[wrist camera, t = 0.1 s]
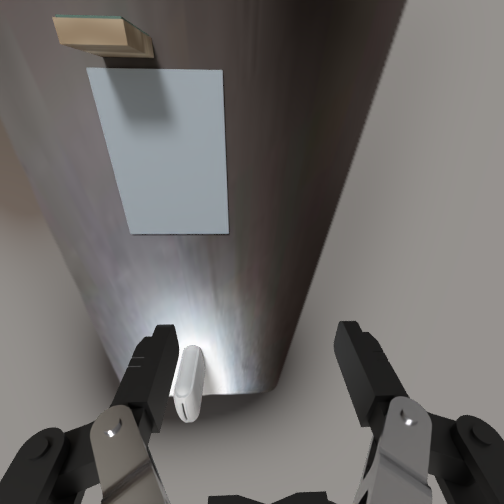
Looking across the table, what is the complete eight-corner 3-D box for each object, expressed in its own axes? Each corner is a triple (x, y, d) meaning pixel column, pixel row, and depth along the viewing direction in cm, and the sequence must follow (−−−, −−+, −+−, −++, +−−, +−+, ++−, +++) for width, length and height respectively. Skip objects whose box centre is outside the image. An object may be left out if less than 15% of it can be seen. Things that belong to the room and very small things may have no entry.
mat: (87, 68, 30) (86, 67, 30) (222, 70, 31) (222, 70, 30) (131, 232, 41) (130, 234, 41) (228, 232, 42) (228, 233, 42)
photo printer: (207, 371, 61) (199, 428, 51) (189, 372, 61) (178, 429, 51) (201, 343, 56) (192, 400, 46) (182, 344, 56) (168, 401, 45)
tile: (97, 34, 28) (51, 13, 22) (150, 35, 29) (122, 15, 22) (102, 56, 30) (60, 44, 23) (154, 57, 30) (127, 45, 23)
